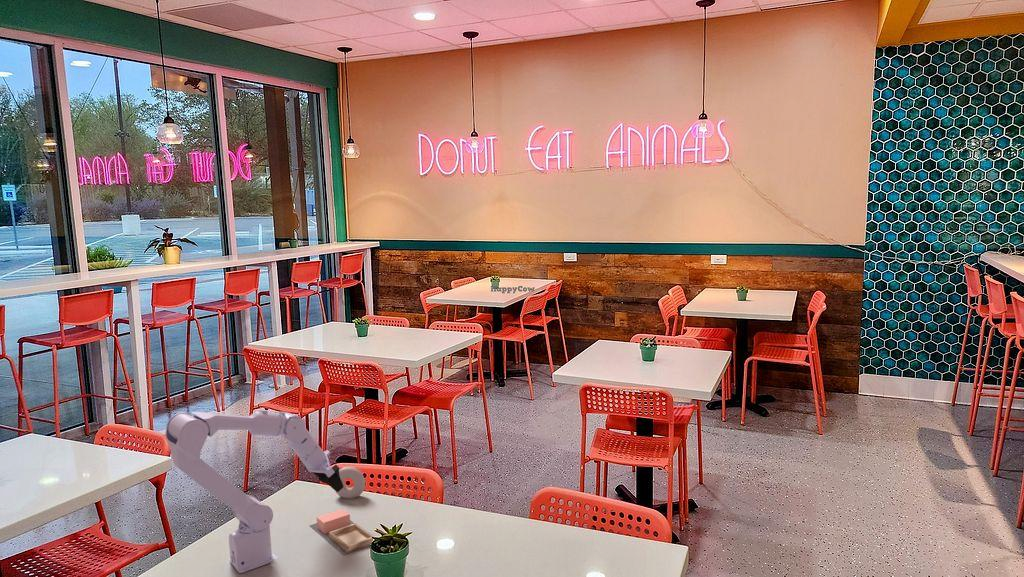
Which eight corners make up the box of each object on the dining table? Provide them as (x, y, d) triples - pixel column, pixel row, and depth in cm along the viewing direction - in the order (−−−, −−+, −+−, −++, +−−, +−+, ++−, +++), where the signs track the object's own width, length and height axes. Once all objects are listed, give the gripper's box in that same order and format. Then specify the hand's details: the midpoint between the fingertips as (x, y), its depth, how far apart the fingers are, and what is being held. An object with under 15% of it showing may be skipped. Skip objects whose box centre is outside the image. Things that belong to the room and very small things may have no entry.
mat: (344, 557, 169) (344, 555, 169) (309, 527, 186) (309, 525, 186) (379, 544, 175) (379, 542, 175) (342, 516, 192) (342, 514, 192)
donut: (367, 496, 206) (365, 464, 205) (364, 501, 202) (362, 469, 201) (336, 495, 207) (334, 464, 206) (332, 500, 203) (329, 469, 202)
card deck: (324, 533, 181) (323, 522, 181) (317, 527, 185) (316, 517, 184) (350, 524, 186) (349, 514, 186) (343, 519, 190) (342, 508, 189)
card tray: (347, 553, 170) (346, 547, 170) (329, 538, 179) (328, 532, 178) (374, 542, 175) (374, 537, 175) (356, 528, 183) (355, 523, 183)
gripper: (331, 447, 174) (357, 482, 180) (308, 431, 185) (333, 465, 191) (309, 466, 170) (336, 502, 177) (287, 449, 181) (313, 483, 188)
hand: (333, 484), depth 183 cm, fingers open, 7 cm apart
